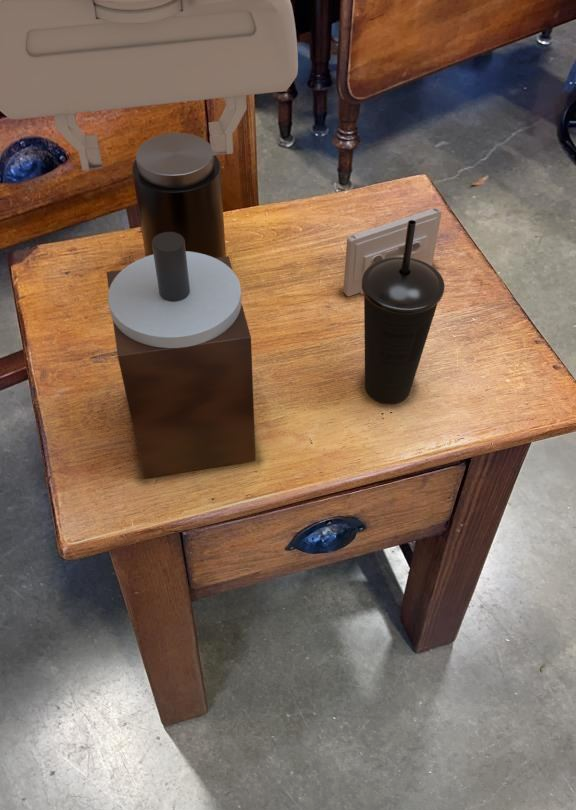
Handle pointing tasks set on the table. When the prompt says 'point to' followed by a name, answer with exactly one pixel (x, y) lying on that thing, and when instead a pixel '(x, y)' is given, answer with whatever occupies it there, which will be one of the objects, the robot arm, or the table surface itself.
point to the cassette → (389, 246)
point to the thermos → (180, 192)
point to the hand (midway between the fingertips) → (157, 158)
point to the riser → (190, 399)
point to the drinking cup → (397, 321)
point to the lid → (174, 296)
